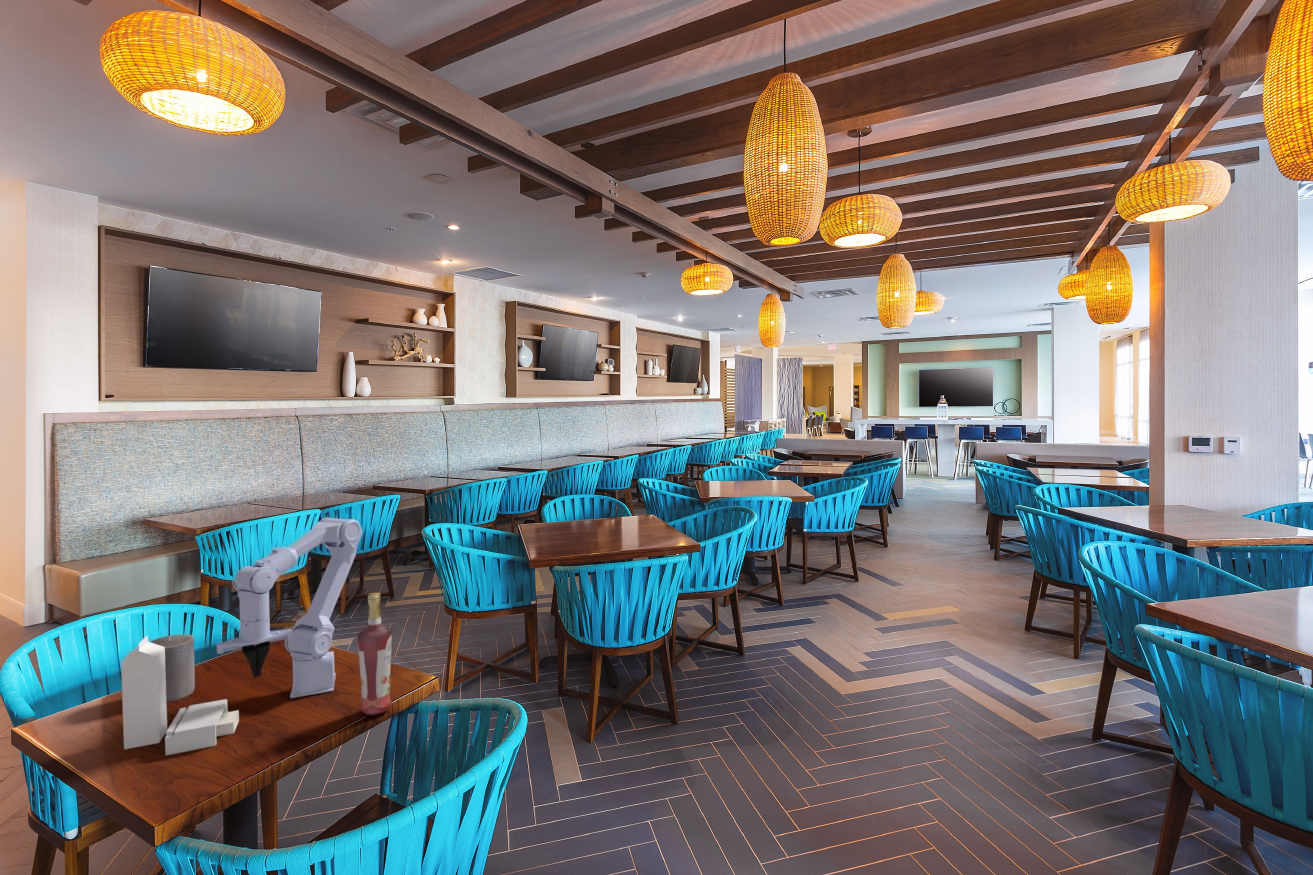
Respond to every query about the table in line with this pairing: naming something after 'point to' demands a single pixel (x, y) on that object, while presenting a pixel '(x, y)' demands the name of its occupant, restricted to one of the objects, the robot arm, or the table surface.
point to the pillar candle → (178, 665)
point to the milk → (144, 695)
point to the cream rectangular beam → (227, 723)
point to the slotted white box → (194, 727)
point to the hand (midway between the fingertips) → (256, 675)
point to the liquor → (375, 661)
